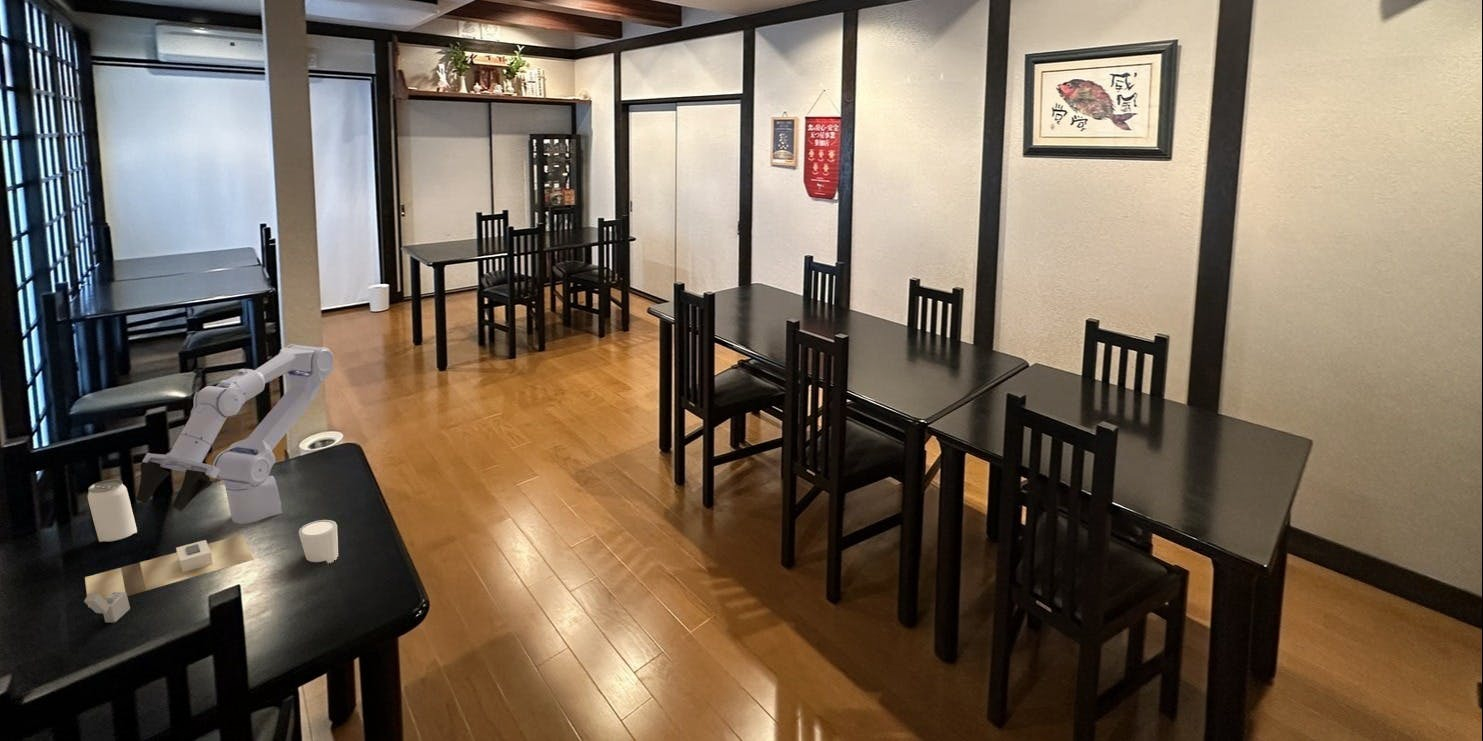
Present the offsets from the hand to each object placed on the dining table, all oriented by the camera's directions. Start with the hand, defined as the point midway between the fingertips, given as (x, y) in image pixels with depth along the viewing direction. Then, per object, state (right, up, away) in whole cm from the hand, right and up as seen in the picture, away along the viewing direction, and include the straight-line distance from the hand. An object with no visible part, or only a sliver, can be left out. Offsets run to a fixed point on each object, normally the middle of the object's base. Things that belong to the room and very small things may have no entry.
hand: (158, 505), depth 155 cm
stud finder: (+4, -12, +4) cm, 13 cm away
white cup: (+27, -12, +8) cm, 31 cm away
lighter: (+2, -19, -13) cm, 23 cm away
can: (-18, -9, +14) cm, 25 cm away
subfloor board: (+1, -13, +2) cm, 14 cm away
